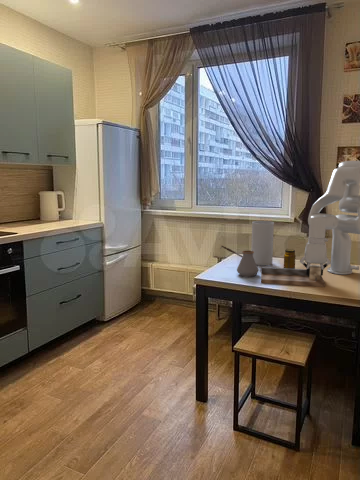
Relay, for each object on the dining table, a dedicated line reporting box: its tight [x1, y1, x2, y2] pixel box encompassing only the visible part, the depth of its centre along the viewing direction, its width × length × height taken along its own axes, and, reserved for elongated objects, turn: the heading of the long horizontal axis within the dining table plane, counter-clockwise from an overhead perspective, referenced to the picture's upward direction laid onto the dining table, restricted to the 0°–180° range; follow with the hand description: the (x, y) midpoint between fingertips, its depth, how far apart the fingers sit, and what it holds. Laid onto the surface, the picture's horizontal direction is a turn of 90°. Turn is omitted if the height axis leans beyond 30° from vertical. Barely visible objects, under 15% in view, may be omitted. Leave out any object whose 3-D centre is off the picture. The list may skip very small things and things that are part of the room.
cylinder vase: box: [250, 220, 275, 267], centre depth 219 cm, size 12×12×25 cm
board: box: [260, 266, 326, 288], centre depth 185 cm, size 30×12×5 cm, turn 77°
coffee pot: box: [219, 245, 259, 278], centre depth 198 cm, size 21×12×15 cm, turn 63°
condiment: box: [283, 248, 296, 269], centre depth 204 cm, size 7×8×12 cm
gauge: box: [309, 264, 321, 281], centre depth 181 cm, size 5×10×6 cm, turn 167°
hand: (314, 275), depth 184 cm, fingers closed on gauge, 5 cm apart
